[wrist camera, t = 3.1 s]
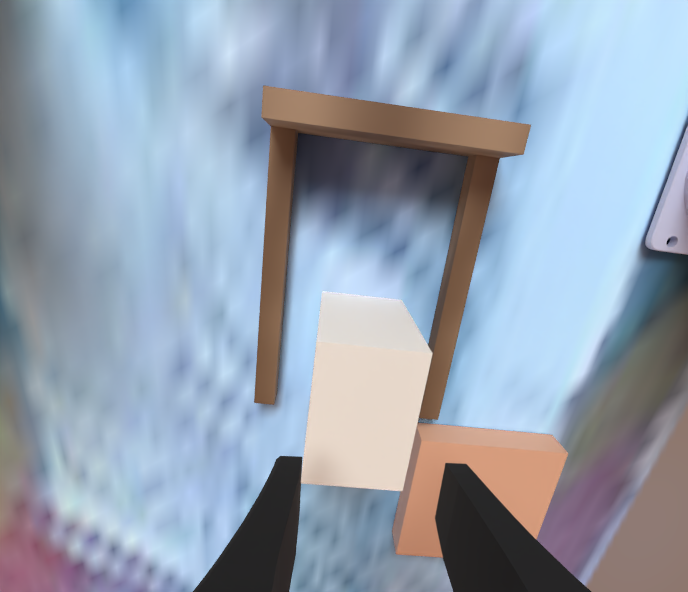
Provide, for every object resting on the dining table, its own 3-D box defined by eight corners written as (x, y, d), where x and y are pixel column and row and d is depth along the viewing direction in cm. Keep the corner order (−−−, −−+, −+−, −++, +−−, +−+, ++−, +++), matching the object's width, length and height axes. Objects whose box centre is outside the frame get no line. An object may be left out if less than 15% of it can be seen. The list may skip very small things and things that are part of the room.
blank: (401, 299, 18) (432, 353, 12) (382, 402, 20) (402, 491, 14) (322, 290, 18) (316, 341, 12) (310, 395, 20) (300, 483, 14)
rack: (495, 135, 16) (530, 124, 13) (432, 408, 20) (449, 446, 17) (276, 103, 15) (263, 85, 12) (258, 391, 19) (245, 428, 16)
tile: (551, 434, 21) (568, 453, 19) (515, 539, 23) (527, 563, 22) (415, 422, 20) (421, 440, 19) (392, 530, 23) (395, 554, 21)
